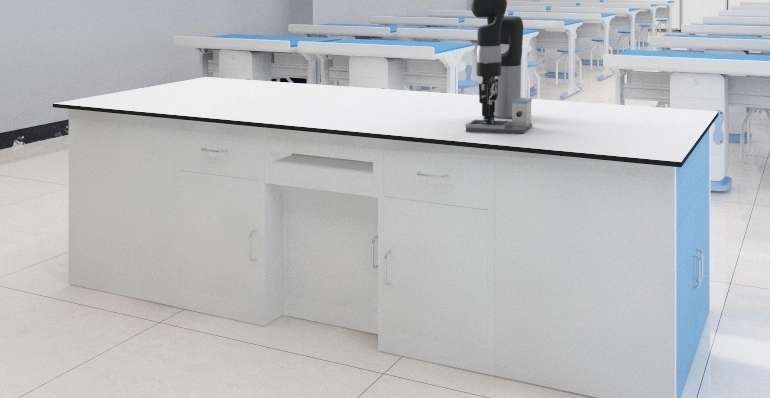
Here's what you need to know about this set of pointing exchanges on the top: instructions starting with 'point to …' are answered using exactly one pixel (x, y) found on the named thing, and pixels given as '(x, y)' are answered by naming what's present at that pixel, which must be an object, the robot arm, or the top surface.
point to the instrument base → (516, 126)
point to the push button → (491, 117)
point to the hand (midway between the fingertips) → (488, 114)
